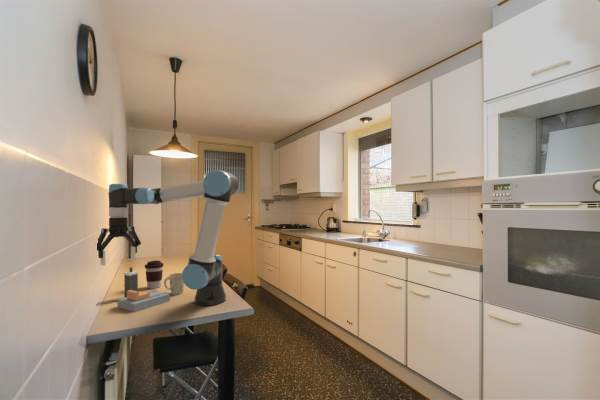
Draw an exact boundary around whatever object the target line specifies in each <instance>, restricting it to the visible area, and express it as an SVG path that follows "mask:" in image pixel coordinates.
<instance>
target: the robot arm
mask: <svg viewBox="0 0 600 400" xmlns="http://www.w3.org/2000/svg"><path fill="white" fill-rule="evenodd" d="M238 188H239V180H238V178H237V177H236V176H235V175H234V174H233V173H230V172H227V171H225V170H222V169H213V170H211V171H210V172H208V173H206V175H205V176H204V178H203V180H202V181H196V182H190V183H183V184H177V185H176V184H175V185H171V186H170V185H169V186H164V187H157V188H150V187H131V188H130V187H128V184H126V183H110V184H109V186H108V193H107V194H108V216H109V218H108V226H109V227H108V228H106V227H105V228H104V227H103V228H101V230H100V234H99V236H98V238H97V240H98V243H97V250H96V251H98V253H97V254H98V255H97V256H98V257H97V258H98V259H100V266H106V250H105V248H106V247H107V246H108V245H109V243H110V242H112V241H113V239H115V238H121V237H122V238H125V239H126V241H128V243H130V245H131V246H130V261H136V254H137V253H138V247H139V246H140V245H142V242H141V240H140V238H139V236H138V235H137V232H136V230H135V226H134V225H133V226H131V225H130V226H128V223H129V221H128V220H129V219H128V216H129V215H128V213H129V212H128V211H129V209H128V205H159V204H162V203H167V202H176V201H182V200H188V199H196V198H202V197H203V199H204V201H205V204H204V209H203V213H202V218H201V222H200V226H199V230H198V235H197V239H196V243H195V248H194V251H193V253H192V254H190V255H189V257H188V262H187V265H186V266H185V267H184V269H183V270H182V271H181V273H182V280H183V282H184V286H186V287H187V288H188V289H191V290H195V291H196V293H195V296H194V304H195V305H197V306H213V305H219V304H221V303H224V302H225V301H227V293H226V291H225V289H224V286H223V262H224V260H223V257H222V255H221V254H215V252H216V247H217V243H218V239H219V233H220V229H221V225H222V221H223V215H224V212H225V207H226V205H228V204H230V201H231V196H233V195H234V194H235V193H236V192H237V191H238V190H239V189H238ZM128 232H129V233H130V235H131V236H130V235H129V233H128ZM108 233H109V234H108ZM107 234H108V235H107ZM106 236H107V237H106ZM105 237H106V238H105Z"/></svg>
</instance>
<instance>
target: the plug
mask: <svg viewBox="0 0 600 400" xmlns="http://www.w3.org/2000/svg"><path fill="white" fill-rule="evenodd" d="M138 274H139V272H138V271H135V270H133V266H132V267H129V271H125V272H124V273H123V275H124V280H123V281H124V298H125V297H127V291H128V290H133V291H137V292H139V287H138V286H139V285H138V283H139V282H138V281H139V280H138V279H139V278H138V277H139V276H138Z"/></svg>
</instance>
